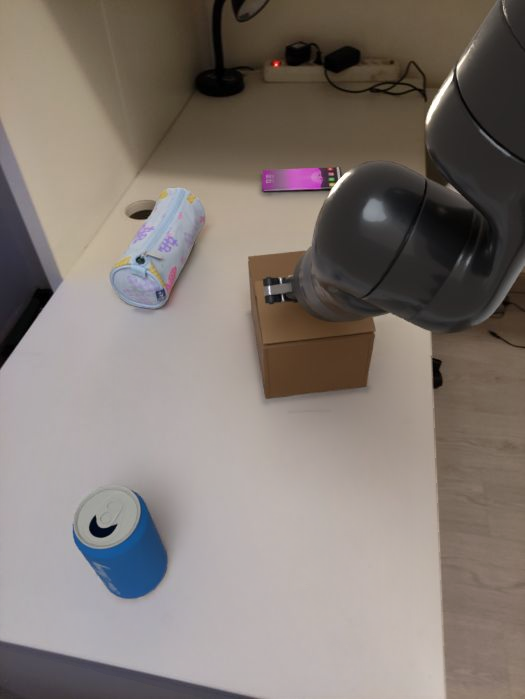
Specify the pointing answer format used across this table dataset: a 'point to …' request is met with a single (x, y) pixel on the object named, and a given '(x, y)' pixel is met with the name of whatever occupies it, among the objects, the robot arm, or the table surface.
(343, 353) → the carton
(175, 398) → the table surface
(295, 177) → the smartphone
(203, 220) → the pencil case
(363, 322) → the flap
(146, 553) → the beverage can
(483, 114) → the robot arm
